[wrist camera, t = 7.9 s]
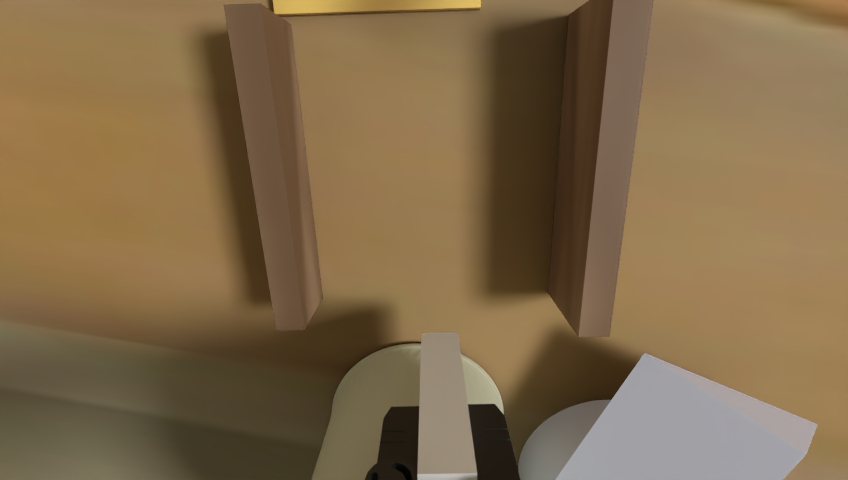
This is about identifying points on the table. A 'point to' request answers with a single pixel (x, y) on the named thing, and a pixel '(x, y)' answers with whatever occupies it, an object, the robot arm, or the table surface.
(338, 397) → the can
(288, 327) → the channel
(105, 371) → the table surface
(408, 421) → the robot arm
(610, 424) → the wedge on round base
